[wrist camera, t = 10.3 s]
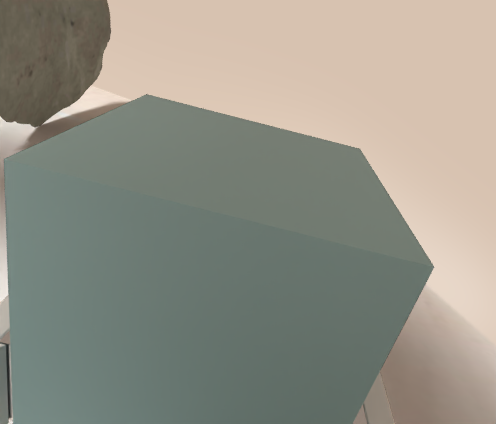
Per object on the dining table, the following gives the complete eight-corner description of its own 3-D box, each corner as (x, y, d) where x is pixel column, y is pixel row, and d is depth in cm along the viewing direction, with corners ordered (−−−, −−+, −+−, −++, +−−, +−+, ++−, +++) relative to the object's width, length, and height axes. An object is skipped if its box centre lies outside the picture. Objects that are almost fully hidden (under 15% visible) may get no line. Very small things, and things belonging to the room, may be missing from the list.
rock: (69, 102, 63) (76, -42, 54) (107, 112, 63) (120, -31, 55) (-69, 146, 39) (-97, -99, 30) (-7, 163, 39) (-18, -78, 30)
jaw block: (218, 680, 8) (434, 266, 4) (20, 635, 8) (4, 159, 4) (239, 474, 11) (359, 149, 7) (104, 442, 11) (146, 94, 7)
